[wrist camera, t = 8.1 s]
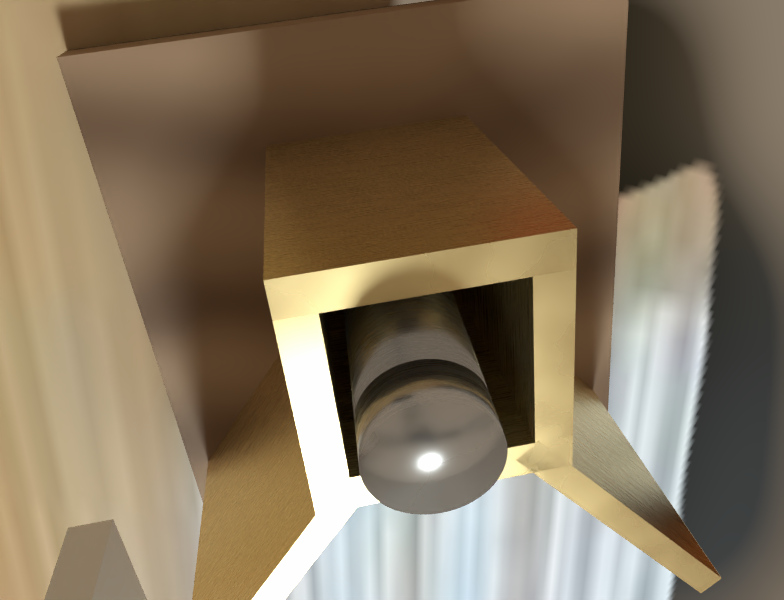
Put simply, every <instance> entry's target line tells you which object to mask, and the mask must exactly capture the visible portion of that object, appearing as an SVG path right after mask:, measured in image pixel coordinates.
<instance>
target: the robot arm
mask: <svg viewBox="0 0 784 600" xmlns="http://www.w3.org/2000/svg"><path fill="white" fill-rule="evenodd" d="M45 600H147V599H146V596H145V594H144V591H143V589H142V587H141V584H140V582H139V580H138V577H137V575H136V573H135V570H134V568H133V565H132V563H131V561H130V558H129V556H128V554H127V551H126V549H125V546H124V544H123V542H122V539H121V537H120V535H119V532H118V530H117V527H116V525H115V523H114V520H113V519H112V520H107V521H102V522H97V523H91V524H86V525H81V526H75V527H70V528H68V530H67V533H66V536H65V539H64V542H63V545H62V548H61V551H60V554H59V557H58V560H57V563H56V566H55V569H54V572H53V575H52V578H51V581H50V584H49V587H48V590H47V593H46V597H45Z"/></svg>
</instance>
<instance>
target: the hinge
mask: <svg viewBox="0 0 784 600" xmlns="http://www.w3.org/2000/svg"><path fill="white" fill-rule="evenodd" d="M576 262H577V228H576V227H575V226H574V225H573V224H572V222H571V221H570V220H569V219H568V218H567V217H566V216H565V215H564V214H563V213H562V212H561V211H560V210H559V209H558V208H557V207H556V206H555V205H554V204H553V203H552V202H551V201H550V200H549V199H548V198H547V197H546V196H545V195H544V194H543V193H542V192H541V191H540V190H539V189H538V188H537V187H536V186H535V185H534V184H533V183H532V182H531V181H530V180H529V179H528V178H527V177H526V176H525V175H524V174H523V173H522V172H521V171H520V170H519V169H518V168H517V167H516V166H515V165H514V164H513V163H512V162H511V161H510V160H509V159H508V158H507V157H506V156H505V155H504V154H503V153H502V152H501V151H500V150H499V149H498V148H497V147H496V146H495V145H494V144H493V143H492V142H491V141H490V140H489V139H488V138H487V137H486V136H485V135H484V134H483V133H482V132H481V130H480V129H479V128H478V127H477V126H476V125H475V124H474V123H473V122H472V121H471V120H470V119H469V118H468V117H467V116H460V117H454V118H447V119H440V120H434V121H427V122H421V123H414V124H407V125H401V126H394V127H387V128H381V129H374V130H368V131H361V132H354V133H348V134H341V135H334V136H328V137H321V138H315V139H308V140H301V141H295V142H288V143H282V144H275V145H268V146H266V170H265V222H264V273H263V281H264V285H265V290H266V294H267V299H268V303H269V308H270V312H271V317H272V321H273V325H274V330H275V334H276V339H277V343H278V348H279V352H280V354H279V355H278V357H277V358H276V360H275V361H274V363H273V364H272V366H271V367H270V369H269V370H268V372H267V374H266V375H265V377H264V378H263V380H262V381H261V383H260V384H259V386H258V387H257V389H256V390H255V392H254V393H253V395H252V396H251V398H250V399H249V401H248V402H247V404H246V405H245V407H244V408H243V410H242V411H241V413H240V414H239V416H238V417H237V419H236V420H235V422H234V423H233V425H232V426H231V428H230V429H229V431H228V432H227V434H226V435H225V437H224V438H223V440H222V441H221V443H220V444H219V446H218V447H217V449H216V450H215V452H214V453H213V455H212V456H211V458H210V459H209V461H208V467H207V476H206V485H205V494H204V502H203V511H202V520H201V529H200V537H199V546H198V555H197V563H196V572H195V581H194V590H193V598H192V600H284V599H285V598H286V597H287V595H288V594H289V593H290V592H291V590H292V589H293V588H294V587H295V585H296V584H297V583H298V581H299V580H300V579H301V578H302V576H303V575H304V574H305V573H306V571H307V570H308V569H309V567H310V566H311V565H312V564H313V562H314V561H315V560H316V559H317V557H318V556H319V555H320V553H321V552H322V551H323V550H324V548H325V547H326V546H327V545H328V543H329V542H330V541H331V539H332V538H333V537H334V536H335V534H336V533H337V532H338V531H339V529H340V528H341V527H342V525H343V524H344V523H345V522H346V520H347V519H348V518H349V517H350V515H351V514H352V513H353V511H354V510H355V509H356V508H357V507H359V506H364V505H369V504H374V503H379V501H377V500H376V499H375V498H374V497H373V496H372V495H371V494H370V493H369V492H368V491H367V489H366V488H365V486H364V484H363V482H362V480H361V477H360V473H359V463H358V452H357V442H356V432H355V422H354V411H353V401H352V391H351V380H350V370H349V360H348V350H347V339H346V329H345V319H344V309H347V308H353V307H359V306H365V305H371V304H376V303H382V302H388V301H394V300H400V299H406V298H412V297H417V296H423V295H429V294H435V293H441V292H447V291H452V292H453V295H454V297H455V300H456V303H457V306H458V308H459V311H460V314H461V316H462V319H463V322H464V325H465V327H466V330H467V333H468V336H469V338H470V341H471V344H472V347H473V349H474V352H475V355H476V358H477V360H478V363H479V366H480V369H481V371H482V374H483V377H484V380H485V382H486V385H487V388H488V391H489V393H490V396H491V399H492V402H493V404H494V407H495V410H496V413H497V415H498V418H499V421H500V424H501V426H502V429H503V432H504V435H505V438H506V441H507V447H508V454H507V460H506V465H505V467H504V469H503V472H502V473H501V475H500V477H499V478H498V479H503V478H509V477H514V476H519V475H524V474H529V473H534V474H536V475H537V476H538V477H540V478H541V479H543V480H544V481H545V482H547V483H548V484H550V485H551V486H552V487H554V488H555V489H557V490H558V491H559V492H561V493H562V494H563V495H565V496H566V497H568V498H569V499H570V500H572V501H573V502H575V503H576V504H577V505H579V506H580V507H582V508H583V509H584V510H586V511H587V512H589V513H590V514H591V515H593V516H594V517H596V518H597V519H598V520H600V521H601V522H603V523H604V524H605V525H607V526H608V527H609V528H611V529H612V530H614V531H615V532H616V533H618V534H619V535H621V536H622V537H623V538H625V539H626V540H628V541H629V542H630V543H632V544H633V545H635V546H636V547H637V548H639V549H640V550H642V551H643V552H644V553H646V554H647V555H649V556H650V557H651V558H653V559H654V560H655V561H657V562H658V563H660V564H661V565H662V566H664V567H665V568H667V569H668V570H669V571H671V572H672V573H674V574H675V575H676V576H678V577H679V578H681V579H682V580H683V581H685V582H686V583H688V584H689V585H690V586H692V587H693V588H695V589H696V590H697V591H699V592H700V593H702V592H703V591H705V590H706V589H707V588H709V587H710V586H712V585H713V584H714V583H716V582H717V581H718V580H720V579H721V577H720V575H719V574H718V572H717V571H716V569H715V568H714V566H713V565H712V563H711V562H710V560H709V559H708V557H707V556H706V555H705V553H704V552H703V550H702V549H701V547H700V546H699V545H698V543H697V542H696V540H695V538H694V537H693V536H692V534H691V533H690V531H689V530H688V528H687V527H686V525H685V524H684V522H683V521H682V519H681V518H680V517H679V515H678V514H677V512H676V511H675V509H674V508H673V506H672V505H671V503H670V502H669V500H668V499H667V497H666V496H665V495H664V493H663V492H662V490H661V489H660V487H659V486H658V484H657V483H656V481H655V480H654V478H653V477H652V476H651V474H650V473H649V471H648V470H647V468H646V467H645V465H644V464H643V462H642V461H641V459H640V458H639V457H638V455H637V454H636V452H635V451H634V449H633V448H632V446H631V445H630V443H629V442H628V440H627V439H626V438H625V436H624V435H623V433H622V432H621V430H620V429H619V427H618V426H617V424H616V423H615V421H614V420H613V419H612V417H611V416H610V414H609V413H608V411H607V410H606V408H605V407H604V405H603V404H602V402H601V401H600V399H599V398H598V397H597V395H596V394H595V392H594V391H593V390H592V389H591V388H590V387H589V386H588V385H587V384H585V383H584V382H583V381H582V380H581V379H579V378H578V377H577V376H576V375H575V374H574V360H575V311H576Z"/></svg>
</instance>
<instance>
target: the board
mask: <svg viewBox="0 0 784 600" xmlns="http://www.w3.org/2000/svg"><path fill="white" fill-rule="evenodd" d="M627 19H628V0H434V1H426V2H419V3H411V4H404V5H397V6H389V7H382V8H375V9H368V10H360V11H353V12H346V13H339V14H331V15H324V16H317V17H309V18H302V19H295V20H288V21H280V22H273V23H266V24H259V25H251V26H244V27H237V28H229V29H222V30H215V31H208V32H200V33H193V34H186V35H179V36H171V37H164V38H157V39H149V40H142V41H135V42H128V43H120V44H113V45H106V46H99V47H91V48H84V49H77V50H69V51H66V52H64V53H63V54H61V55H60V56H58V57H57V60H58V63H59V66H60V69H61V72H62V75H63V78H64V81H65V84H66V87H67V90H68V93H69V96H70V99H71V102H72V105H73V108H74V111H75V114H76V117H77V120H78V123H79V126H80V130H81V133H82V136H83V139H84V142H85V145H86V148H87V151H88V154H89V157H90V160H91V163H92V166H93V169H94V172H95V175H96V178H97V181H98V184H99V187H100V190H101V193H102V196H103V199H104V202H105V206H106V209H107V212H108V215H109V218H110V221H111V224H112V227H113V230H114V233H115V236H116V239H117V242H118V245H119V248H120V251H121V254H122V257H123V260H124V263H125V266H126V269H127V272H128V275H129V278H130V282H131V285H132V288H133V291H134V294H135V297H136V300H137V303H138V306H139V309H140V312H141V315H142V318H143V321H144V324H145V327H146V330H147V333H148V336H149V339H150V342H151V345H152V348H153V351H154V354H155V357H156V361H157V364H158V367H159V370H160V373H161V376H162V379H163V382H164V385H165V388H166V391H167V394H168V397H169V400H170V403H171V406H172V409H173V412H174V415H175V418H176V421H177V424H178V427H179V430H180V433H181V437H182V440H183V443H184V446H185V449H186V452H187V455H188V458H189V461H190V464H191V467H192V470H193V473H194V476H195V479H196V482H197V485H198V488H199V491H200V494H201V497H202V500H203V502H204V494H205V485H206V476H207V467H208V461H209V459H210V458H211V456H212V455H213V453H214V452H215V450H216V449H217V447H218V446H219V444H220V443H221V441H222V440H223V438H224V437H225V435H226V434H227V432H228V431H229V429H230V428H231V426H232V425H233V423H234V422H235V420H236V419H237V417H238V416H239V414H240V413H241V411H242V410H243V408H244V407H245V405H246V404H247V402H248V401H249V399H250V398H251V396H252V395H253V393H254V392H255V390H256V389H257V387H258V386H259V384H260V383H261V381H262V380H263V378H264V377H265V375H266V374H267V372H268V370H269V369H270V367H271V366H272V364H273V363H274V361H275V360H276V358H277V357H278V355H279V354H280V352H279V348H278V343H277V339H276V334H275V330H274V325H273V321H272V317H271V312H270V308H269V303H268V299H267V294H266V290H265V285H264V281H263V273H264V222H265V170H266V146H268V145H275V144H282V143H288V142H295V141H301V140H308V139H315V138H321V137H328V136H334V135H341V134H348V133H354V132H361V131H368V130H374V129H381V128H387V127H394V126H401V125H407V124H414V123H421V122H427V121H434V120H440V119H447V118H454V117H460V116H467V117H468V118H469V119H470V120H471V121H472V122H473V123H474V124H475V125H476V126H477V127H478V128H479V129H480V130H481V132H482V133H483V134H484V135H485V136H486V137H487V138H488V139H489V140H490V141H491V142H492V143H493V144H494V145H495V146H496V147H497V148H498V149H499V150H500V151H501V152H502V153H503V154H504V155H505V156H506V157H507V158H508V159H509V160H510V161H511V162H512V163H513V164H514V165H515V166H516V167H517V168H518V169H519V170H520V171H521V172H522V173H523V174H524V175H525V176H526V177H527V178H528V179H529V180H530V181H531V182H532V183H533V184H534V185H535V186H536V187H537V188H538V189H539V190H540V191H541V192H542V193H543V194H544V195H545V196H546V197H547V198H548V199H549V200H550V201H551V202H552V203H553V204H554V205H555V206H556V207H557V208H558V209H559V210H560V211H561V212H562V213H563V214H564V215H565V216H566V217H567V218H568V219H569V220H570V221H571V222H572V224H573V225H574V226H575V227H576V228H577V262H576V311H575V360H574V374H575V375H576V376H577V377H578V378H579V379H581V380H582V381H583V382H584V383H585V384H587V385H588V386H589V387H590V388H591V389H592V390H593V391H594V392H595V394H596V395H597V397H598V398H599V399H600V401H601V402H602V404H603V405H604V407H605V408H606V410H607V411H608V397H609V377H610V357H611V337H612V317H613V297H614V277H615V258H616V238H617V218H618V198H619V178H620V157H621V138H622V117H623V98H624V78H625V58H626V39H627Z"/></svg>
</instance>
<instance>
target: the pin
mask: <svg viewBox="0 0 784 600" xmlns="http://www.w3.org/2000/svg"><path fill="white" fill-rule="evenodd" d="M344 319H345V329H346V339H347V350H348V360H349V370H350V380H351V391H352V401H353V411H354V422H355V432H356V442H357V452H358V463H359V473H360V477H361V480H362V482H363V484H364V486H365V488H366V489H367V491H368V492H369V493H370V494H371V495H372V496H373V497H374V498H375V499H376V500H377V501H379V502H380V503H382V504H384V505H385V506H387V507H389V508H392V509H394V510H397V511H401V512H405V513H411V514H436V513H442V512H447V511H451V510H454V509H457V508H460V507H462V506H465V505H467V504H469V503H471V502H473V501H474V500H476V499H477V498H479V497H480V496H482V495H483V494H484V493H486V492H487V491H488V490H489V489H490V488H491V487H492V486H493V485H494V484H495V482H496V481H497V480H498V478H499V477H500V475H501V473H502V472H503V469H504V467H505V465H506V460H507V454H508V447H507V441H506V438H505V435H504V432H503V429H502V426H501V424H500V421H499V418H498V415H497V413H496V410H495V407H494V404H493V402H492V399H491V396H490V393H489V391H488V388H487V385H486V382H485V380H484V377H483V374H482V371H481V369H480V366H479V363H478V360H477V358H476V355H475V352H474V349H473V347H472V344H471V341H470V338H469V336H468V333H467V330H466V327H465V325H464V322H463V319H462V316H461V314H460V311H459V308H458V306H457V303H456V300H455V297H454V295H453V292H452V291H447V292H441V293H435V294H429V295H423V296H417V297H412V298H406V299H400V300H394V301H388V302H382V303H376V304H371V305H365V306H359V307H353V308H347V309H344Z"/></svg>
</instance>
